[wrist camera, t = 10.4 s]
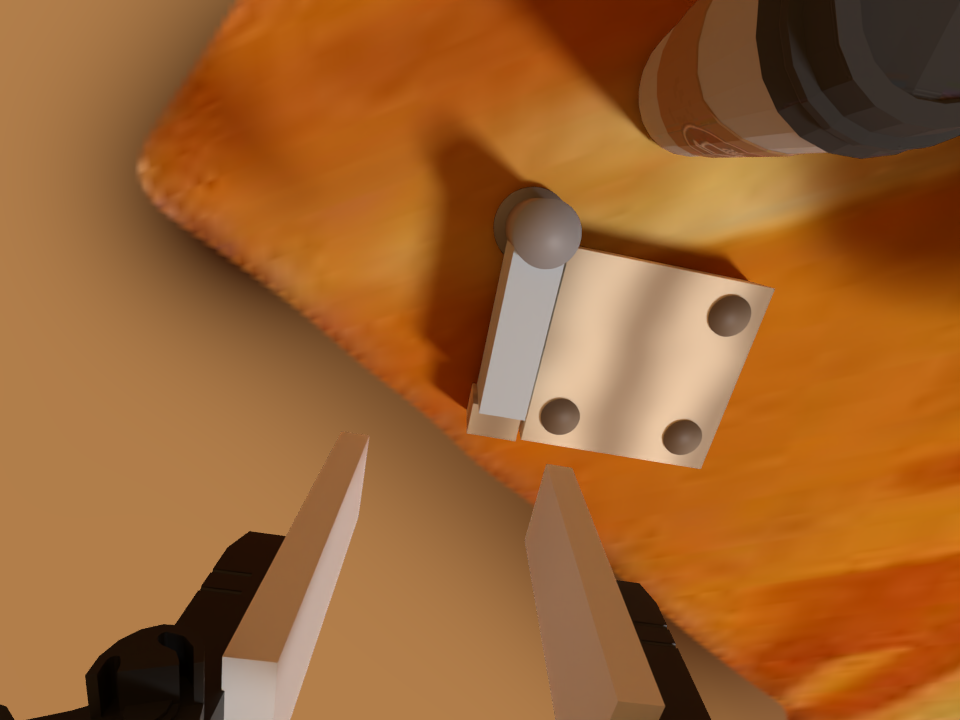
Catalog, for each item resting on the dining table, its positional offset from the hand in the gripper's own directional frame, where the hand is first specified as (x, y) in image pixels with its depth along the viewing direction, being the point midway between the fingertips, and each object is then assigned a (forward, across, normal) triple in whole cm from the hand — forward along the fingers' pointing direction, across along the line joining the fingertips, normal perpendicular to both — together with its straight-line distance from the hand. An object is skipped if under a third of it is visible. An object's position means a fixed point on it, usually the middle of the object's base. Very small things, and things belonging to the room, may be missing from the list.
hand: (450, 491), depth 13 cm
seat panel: (+17, +11, 0) cm, 20 cm away
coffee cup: (+17, +10, +16) cm, 25 cm away
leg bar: (+17, +3, +7) cm, 18 cm away
